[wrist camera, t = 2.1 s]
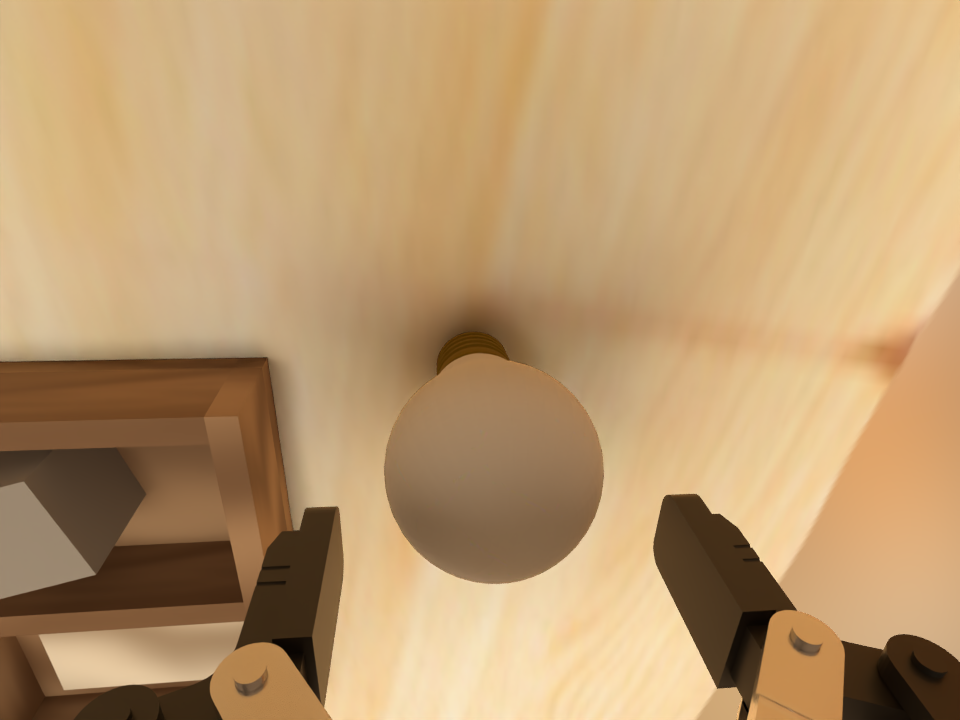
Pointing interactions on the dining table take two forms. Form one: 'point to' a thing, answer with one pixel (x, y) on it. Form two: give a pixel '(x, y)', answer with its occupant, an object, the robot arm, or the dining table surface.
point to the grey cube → (61, 514)
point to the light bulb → (492, 466)
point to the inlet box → (146, 525)
